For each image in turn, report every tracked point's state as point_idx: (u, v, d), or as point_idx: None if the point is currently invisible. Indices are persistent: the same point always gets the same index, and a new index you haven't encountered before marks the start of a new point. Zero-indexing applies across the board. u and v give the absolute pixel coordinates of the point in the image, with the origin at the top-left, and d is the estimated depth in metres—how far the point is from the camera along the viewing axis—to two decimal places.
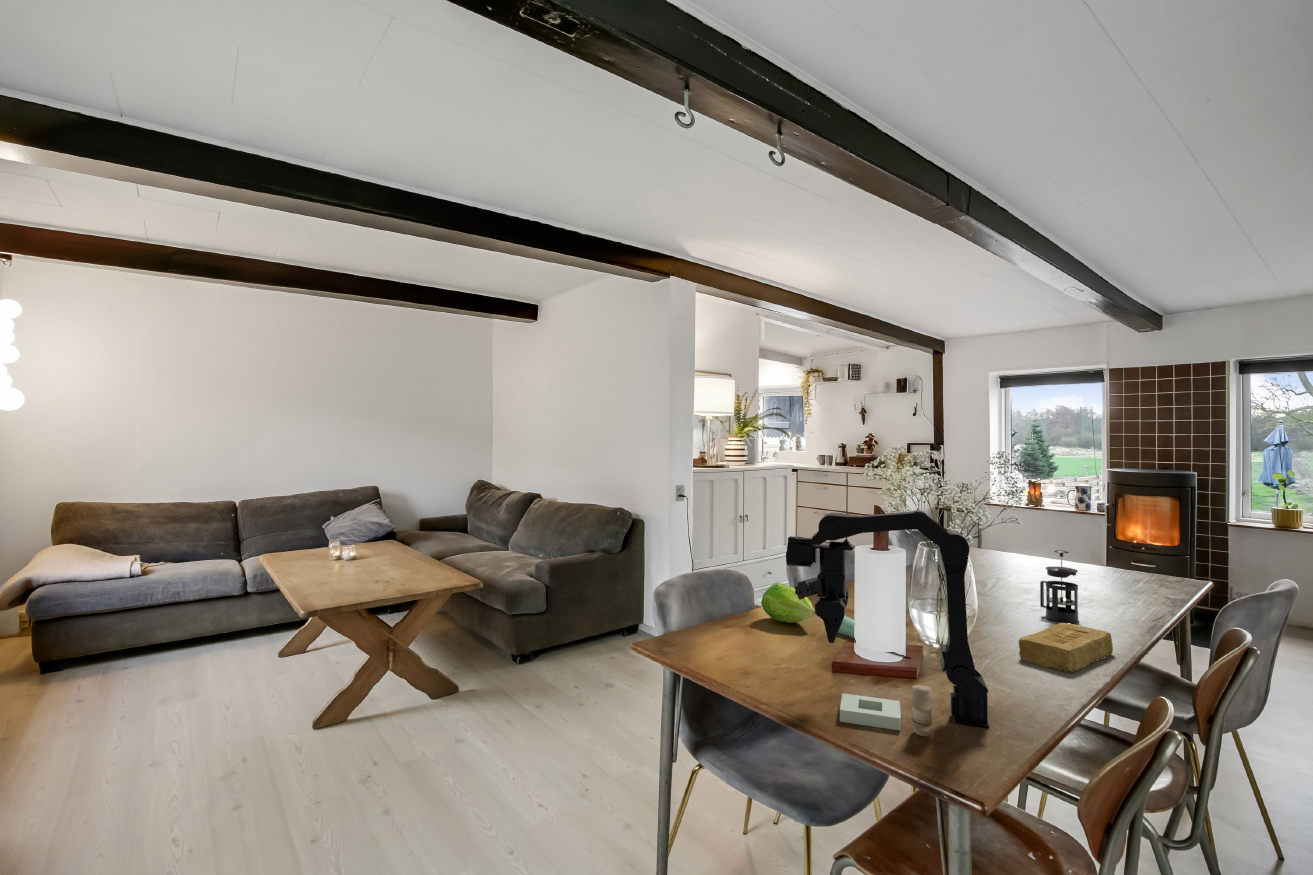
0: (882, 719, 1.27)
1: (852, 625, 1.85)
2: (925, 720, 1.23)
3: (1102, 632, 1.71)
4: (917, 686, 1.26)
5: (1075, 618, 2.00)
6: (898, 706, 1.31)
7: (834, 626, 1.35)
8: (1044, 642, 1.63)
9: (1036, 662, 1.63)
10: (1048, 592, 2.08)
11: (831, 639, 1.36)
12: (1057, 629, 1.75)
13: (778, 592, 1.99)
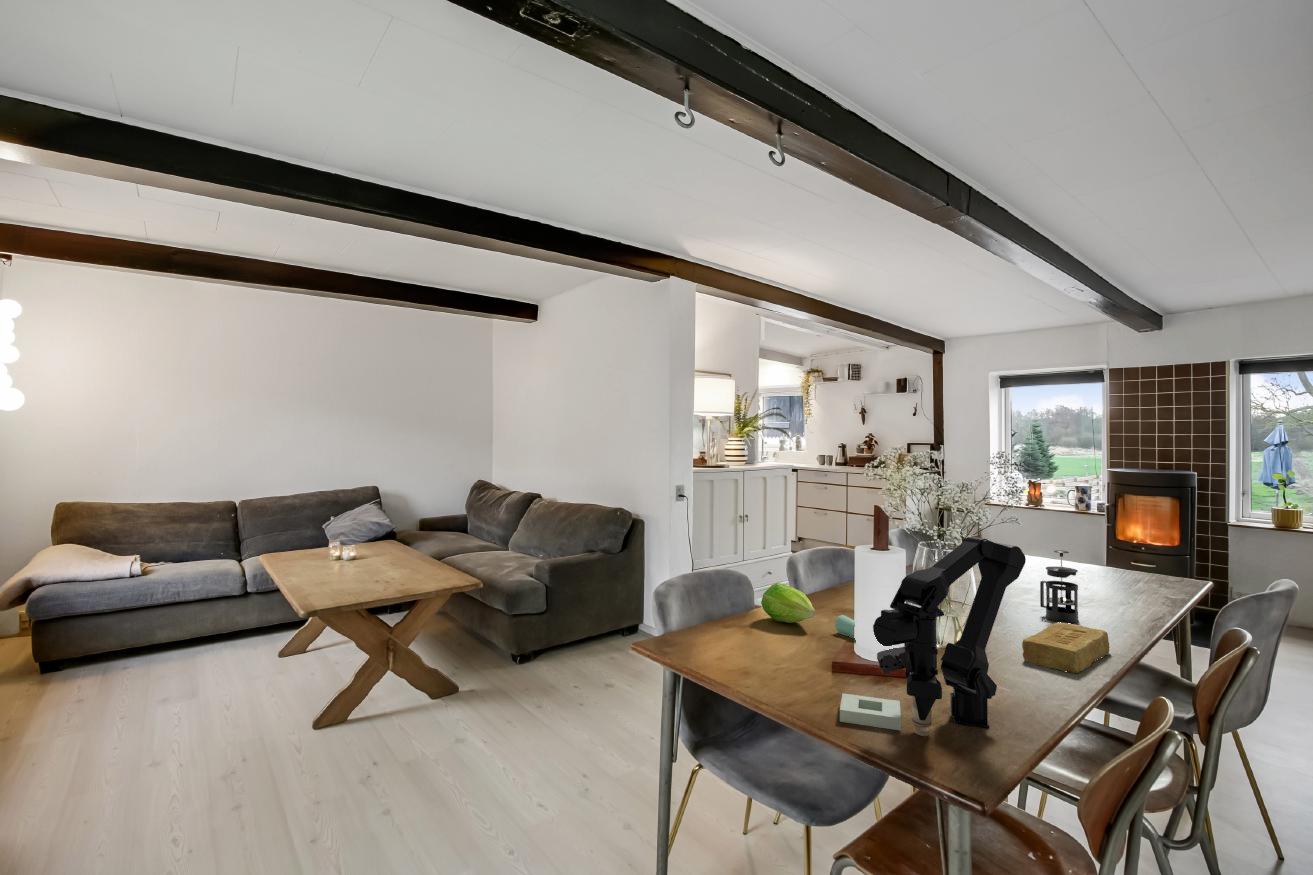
0: (882, 719, 1.27)
1: (853, 625, 1.85)
2: (925, 720, 1.23)
3: (1099, 631, 1.72)
4: None
5: (1075, 618, 2.00)
6: (898, 706, 1.31)
7: (927, 702, 1.21)
8: (1048, 643, 1.62)
9: (1041, 663, 1.62)
10: (1048, 592, 2.08)
11: (923, 716, 1.22)
12: (1055, 629, 1.75)
13: (778, 592, 1.99)
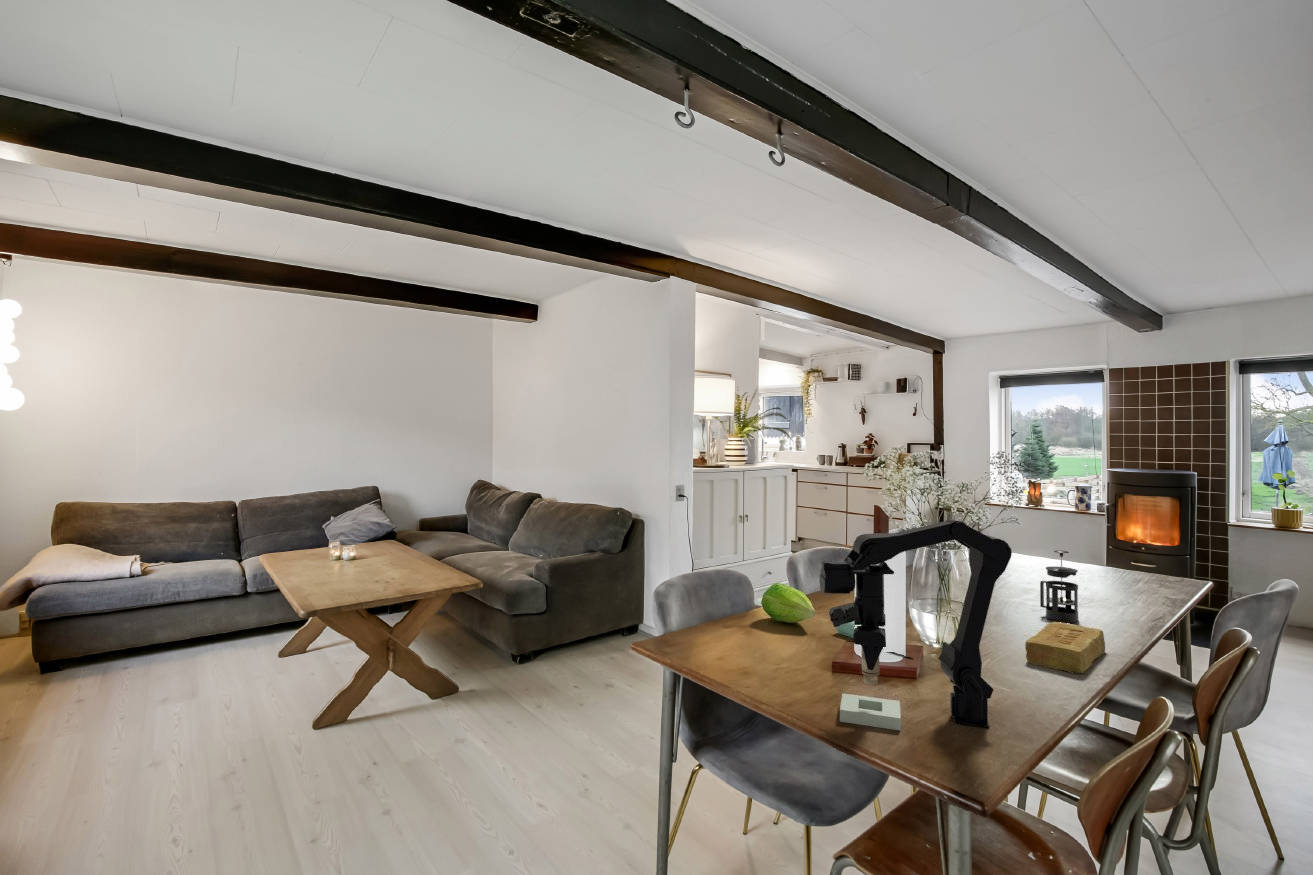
0: (882, 719, 1.27)
1: (853, 625, 1.85)
2: (873, 670, 1.30)
3: (1095, 630, 1.73)
4: None
5: (1075, 618, 2.00)
6: (898, 706, 1.31)
7: (874, 652, 1.29)
8: (1052, 644, 1.61)
9: (1045, 665, 1.61)
10: (1048, 592, 2.08)
11: (870, 666, 1.30)
12: (1053, 629, 1.75)
13: (778, 592, 1.99)
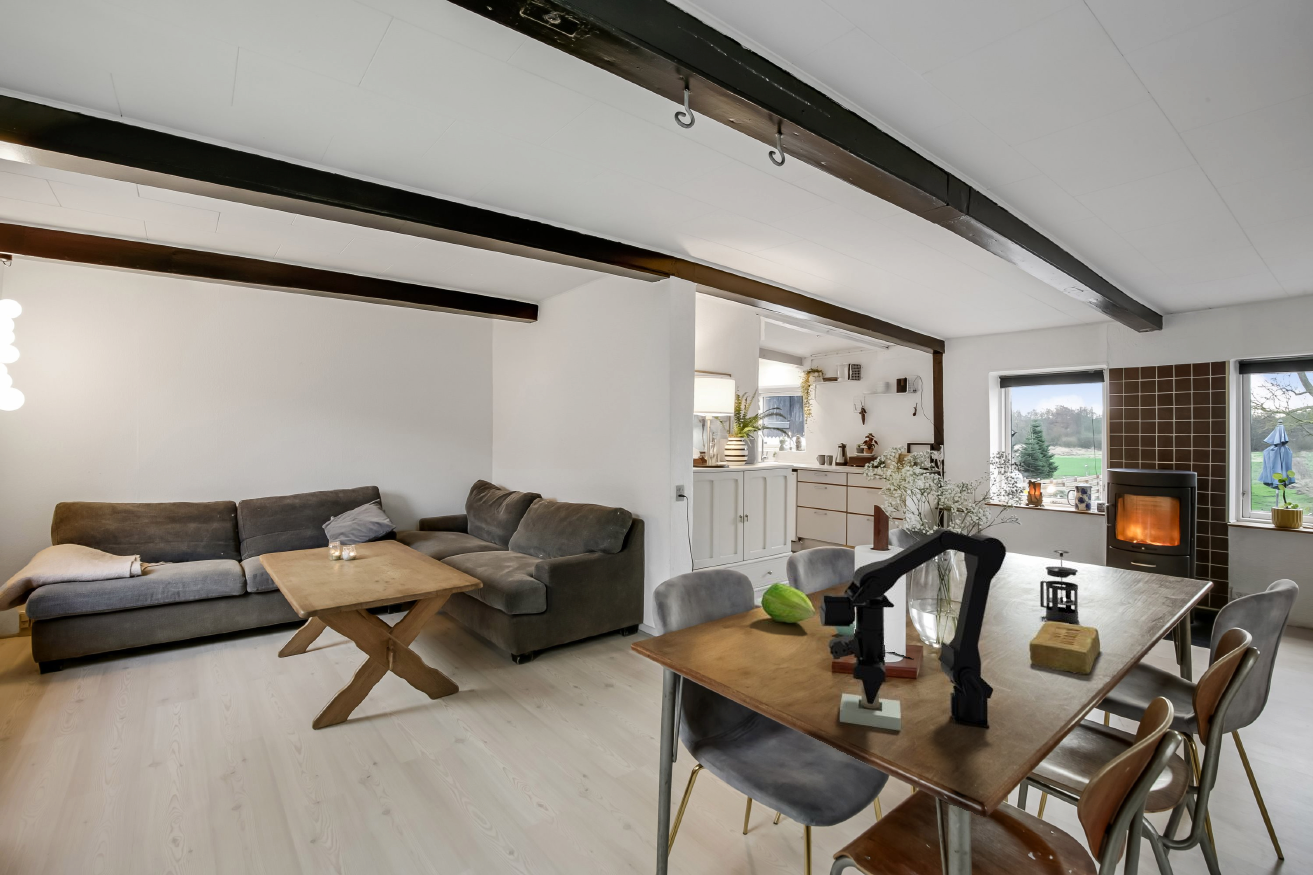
0: (882, 719, 1.27)
1: (852, 626, 1.84)
2: (873, 705, 1.30)
3: (1091, 629, 1.74)
4: None
5: (1075, 618, 2.00)
6: (898, 706, 1.31)
7: (874, 687, 1.28)
8: (1056, 645, 1.61)
9: (1050, 666, 1.60)
10: (1048, 592, 2.08)
11: (870, 700, 1.29)
12: (1050, 629, 1.75)
13: (778, 592, 1.99)
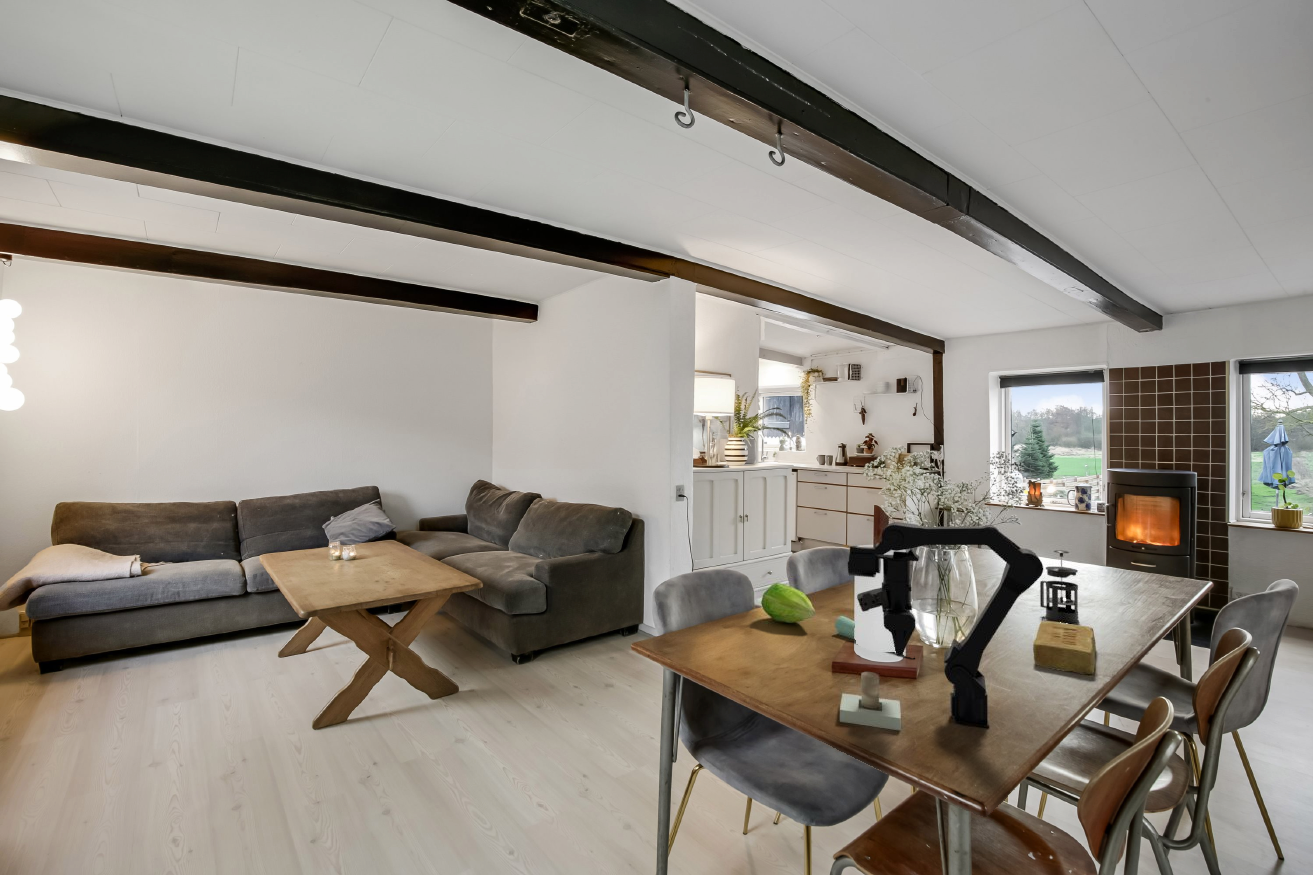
0: (882, 719, 1.27)
1: (853, 626, 1.84)
2: (873, 705, 1.30)
3: (1087, 628, 1.75)
4: (866, 673, 1.33)
5: (1075, 618, 2.00)
6: (898, 706, 1.31)
7: (903, 639, 1.31)
8: (1060, 645, 1.60)
9: (1054, 667, 1.59)
10: (1048, 592, 2.08)
11: (899, 652, 1.32)
12: (1048, 629, 1.75)
13: (778, 592, 1.99)
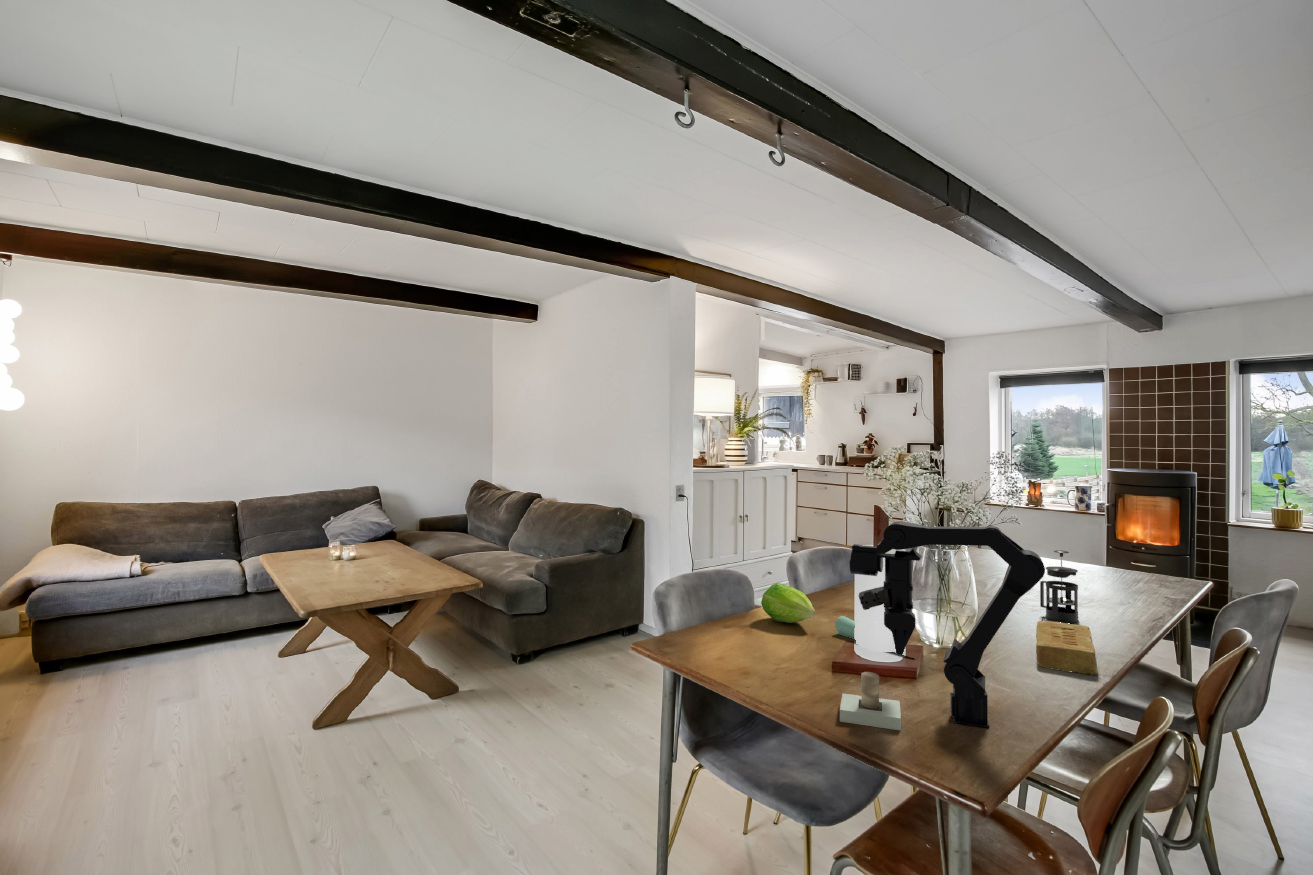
0: (882, 719, 1.27)
1: (853, 626, 1.84)
2: (873, 705, 1.30)
3: (1084, 627, 1.75)
4: (866, 673, 1.33)
5: (1075, 618, 2.00)
6: (898, 706, 1.31)
7: (903, 638, 1.32)
8: (1063, 646, 1.60)
9: (1058, 668, 1.59)
10: (1048, 592, 2.08)
11: (899, 651, 1.33)
12: (1047, 629, 1.75)
13: (777, 592, 1.99)
